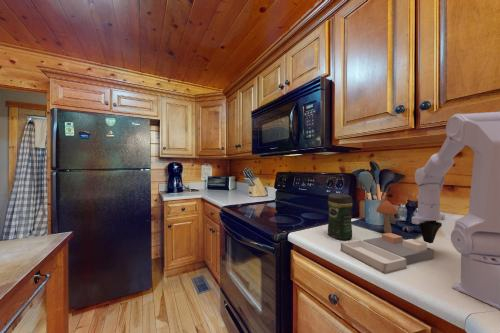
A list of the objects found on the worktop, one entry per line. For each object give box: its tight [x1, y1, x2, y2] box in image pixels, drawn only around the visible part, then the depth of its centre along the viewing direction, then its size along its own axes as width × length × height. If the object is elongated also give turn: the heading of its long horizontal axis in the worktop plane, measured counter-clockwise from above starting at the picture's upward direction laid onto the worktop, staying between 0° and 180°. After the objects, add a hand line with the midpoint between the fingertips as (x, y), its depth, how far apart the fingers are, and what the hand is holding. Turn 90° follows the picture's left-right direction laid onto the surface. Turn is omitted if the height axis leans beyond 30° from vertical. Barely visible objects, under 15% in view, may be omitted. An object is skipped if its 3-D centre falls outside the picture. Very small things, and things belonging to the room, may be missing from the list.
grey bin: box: [340, 239, 408, 275], centre depth 66 cm, size 16×9×3 cm, turn 20°
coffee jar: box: [327, 192, 353, 241], centre depth 86 cm, size 10×8×19 cm
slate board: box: [362, 236, 435, 266], centre depth 70 cm, size 14×15×3 cm
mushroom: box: [376, 200, 398, 234], centre depth 90 cm, size 8×8×15 cm
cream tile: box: [403, 238, 428, 251], centre depth 68 cm, size 4×4×2 cm
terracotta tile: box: [381, 232, 403, 244], centre depth 74 cm, size 4×4×2 cm
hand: (428, 242), depth 70 cm, fingers closed
